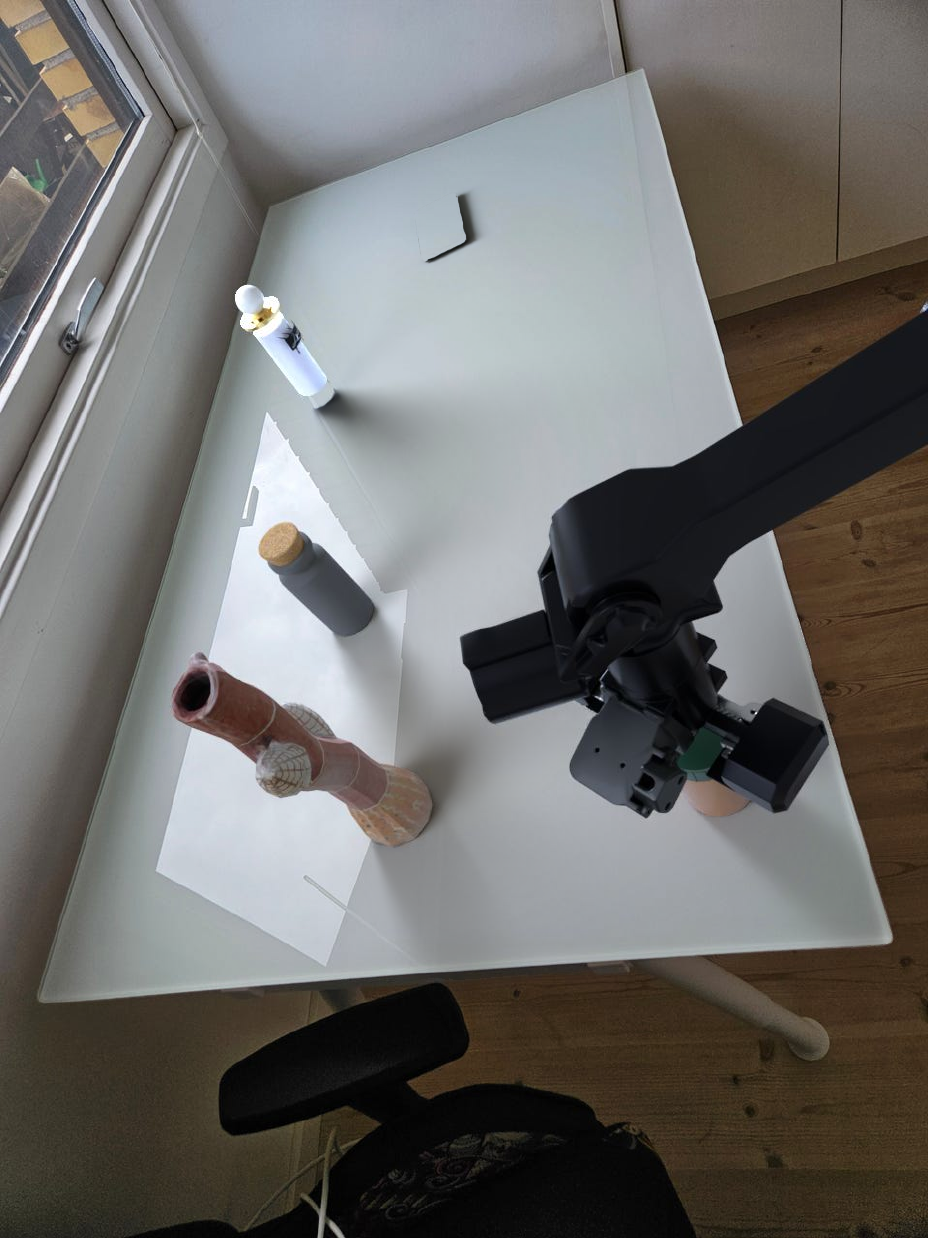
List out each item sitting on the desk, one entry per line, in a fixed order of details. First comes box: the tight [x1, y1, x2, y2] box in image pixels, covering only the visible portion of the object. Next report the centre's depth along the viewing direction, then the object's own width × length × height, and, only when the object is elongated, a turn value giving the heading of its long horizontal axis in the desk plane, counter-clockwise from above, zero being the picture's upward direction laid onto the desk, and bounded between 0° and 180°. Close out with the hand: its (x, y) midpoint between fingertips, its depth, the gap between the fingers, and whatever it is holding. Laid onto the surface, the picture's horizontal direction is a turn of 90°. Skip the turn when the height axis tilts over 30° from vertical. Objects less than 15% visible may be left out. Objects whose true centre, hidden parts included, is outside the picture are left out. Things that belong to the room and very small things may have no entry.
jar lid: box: [675, 692, 741, 782], centre depth 60 cm, size 7×7×2 cm
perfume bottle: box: [235, 284, 328, 396], centre depth 111 cm, size 6×6×20 cm
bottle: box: [257, 521, 374, 637], centre depth 88 cm, size 6×6×15 cm
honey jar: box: [681, 780, 751, 818], centre depth 63 cm, size 6×6×10 cm
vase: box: [169, 651, 434, 848], centre depth 66 cm, size 10×7×30 cm
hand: (698, 751), depth 61 cm, fingers closed on jar lid, 6 cm apart
